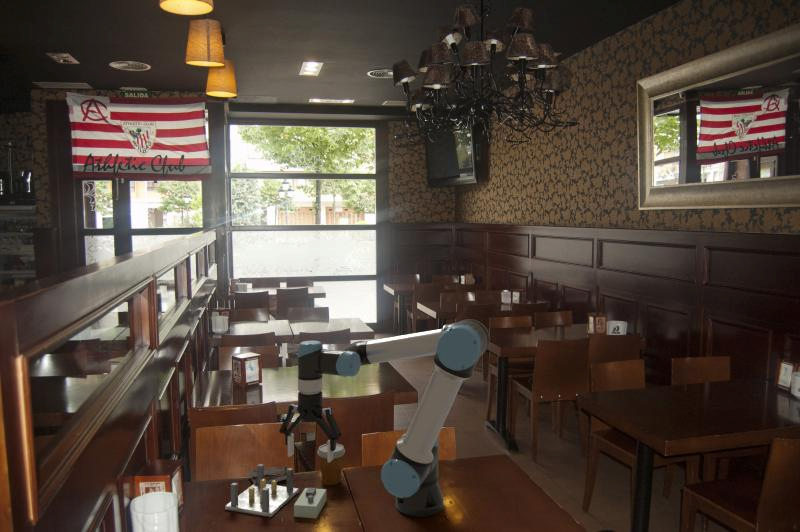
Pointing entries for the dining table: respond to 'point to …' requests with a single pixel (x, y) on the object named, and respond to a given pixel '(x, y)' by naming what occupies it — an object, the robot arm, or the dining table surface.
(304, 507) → the board
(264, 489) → the chassis
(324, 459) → the disposable coffee cup
